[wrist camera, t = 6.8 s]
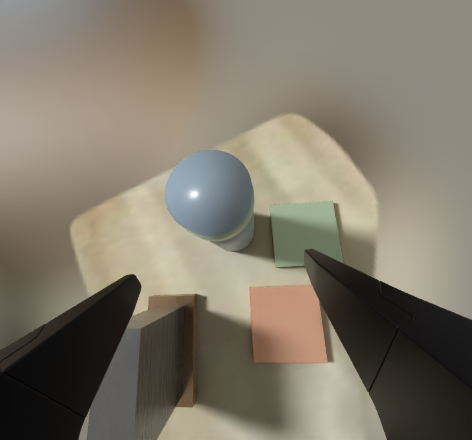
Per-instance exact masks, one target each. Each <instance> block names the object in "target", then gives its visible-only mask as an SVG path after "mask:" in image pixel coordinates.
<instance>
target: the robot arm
mask: <svg viewBox="0 0 472 440" xmlns="http://www.w3.org/2000/svg"><path fill="white" fill-rule="evenodd" d="M304 265H305V268H306V271H307V273H308V276H309V278H310V281H311V284H312V286H313V289H314V291H315V293H316V295H317V297H318V299H319V301H320V303H321V305H322V307H323V308H324V310H325V312H326V314H327V316H328V318H329V320H330V322H331V323H332V325H333V327H334V329H335V331H336V333H337V335H338V337H339V339H340V340H341V342H342V344H343V346H344V348H345V350H346V352H347V354H348V355H349V357H350V359H351V361H352V363H353V365H354V367H355V369H356V370H357V372H358V374H359V376H360V378H361V380H362V382H363V384H364V386H365V387H366V389H367V391H368V392H369V395H370V397H371V399H372V401H373V403H374V405H375V407H376V410H377V412H378V415H379V418H380V421H381V423H382V426H383V429H384V432H385V435H386V438H387V440H472V320H471V319H468V318H466V317H463V316H461V315H458V314H456V313H454V312H451V311H449V310H446V309H444V308H441V307H439V306H436V305H434V304H432V303H429V302H427V301H424V300H422V299H419V298H417V297H415V296H412V295H410V294H408V293H405V292H403V291H401V290H398V289H397V288H394V287H392V286H390V285H388V284H386V283H384V282H382V281H379V280H377V279H375V278H373V277H371V276H369V275H367V274H365V273H362V272H360V271H358V270H356V269H354V268H352V267H350V266H348V265H346V264H344V263H342V262H340V261H338V260H335V259H333V258H331V257H329V256H327V255H325V254H323V253H321V252H319V251H317V250H315V249H306V250H305V251H304ZM140 291H141V283H140V282H139V280H138V279H137V277H136V276H135V275H134V274H130V275H126V276H124V277H122V278H121V279H119V280H117V281H116V282H114V283H112V284H111V285H109V286H107V287H106V288H104V289H102V290H101V291H99V292H97V293H96V294H94V295H92V296H91V297H89V298H87V299H86V300H84V301H82V302H81V303H79V304H77V305H76V306H74V307H72V308H71V309H69V310H68V311H66V312H64V313H63V314H61V315H59V316H58V317H56V318H54V319H53V320H51V321H50V322H48V323H47V324H44V325H42V326H40V327H39V328H37V329H35V330H34V331H33V332H31V333H29V334H27V335H25V336H24V337H22V338H20V339H19V340H17V341H15V342H13V343H12V344H10V345H8V346H6V347H5V348H3V349H1V350H0V440H79V435H80V431H81V428H82V425H83V423H84V420H85V418H86V416H87V414H88V411H89V409H90V407H91V405H92V403H93V400H94V398H95V396H96V394H97V392H98V389H99V387H100V385H101V383H102V381H103V378H104V376H105V374H106V372H107V370H108V367H109V365H110V363H111V361H112V359H113V356H114V354H115V352H116V350H117V348H118V345H119V343H120V341H121V339H122V337H123V334H124V332H125V330H126V328H127V326H128V323H129V321H130V319H131V317H132V314H133V312H134V309H135V306H136V303H137V300H138V297H139V294H140Z"/></svg>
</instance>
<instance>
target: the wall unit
mask: <svg viewBox="0 0 472 440" xmlns="http://www.w3.org/2000/svg"><path fill="white" fill-rule="evenodd" d="M195 401H196V294H179V295H153V296H150V297H149V305H148V310H147V311H144V312H141V313H139V314H136V315H134V316H132V317H131V319H130V321H129V323H128V326H127V328H126V330H125V332H124V334H123V337H122V339H121V341H120V343H119V345H118V348H117V350H116V352H115V354H114V356H113V359H112V361H111V363H110V365H109V367H108V370H107V372H106V374H105V376H104V378H103V381H102V383H101V385H100V387H99V389H98V392H97V394H96V396H95V398H94V400H93V403H92V405H91V407H90V415H89V425H88V433H87V440H157V438H158V436H159V435H160V433H161V431H162V429H163V428H164V426H165V424H166V423H167V421H168V419H169V417H170V416H171V414H172V412H173V411H174V409H175V407H193V406H194V404H195Z"/></svg>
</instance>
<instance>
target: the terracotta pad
mask: <svg viewBox="0 0 472 440" xmlns="http://www.w3.org/2000/svg"><path fill="white" fill-rule="evenodd" d="M249 290H250V307H251V324H252V341H253V358H254V363H318V362H327V354H326V347H325V340H324V333H323V326H322V318H321V311H320V304H319V299H318V297H317V295H316V293H315V291H314V289H313V286H312V285H292V286H266V287H249Z"/></svg>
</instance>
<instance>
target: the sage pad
mask: <svg viewBox="0 0 472 440" xmlns="http://www.w3.org/2000/svg"><path fill="white" fill-rule="evenodd" d="M270 213H271V224H272V235H273V246H274V257H275V267H289V266H305V265H304V251H305V250H306V249H315V250H317V251H319V252H321V253H323V254H325V255H327V256H329V257H331V258H333V259H335V260H338V261H340V262H342V263H343V257H342V251H341V246H340V240H339V234H338V228H337V223H336V217H335V211H334V206H333V201H321V202H308V203H295V204H282V205H270Z"/></svg>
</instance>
